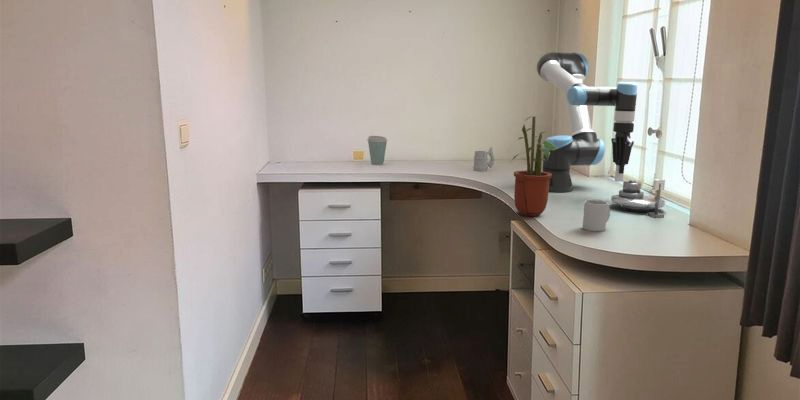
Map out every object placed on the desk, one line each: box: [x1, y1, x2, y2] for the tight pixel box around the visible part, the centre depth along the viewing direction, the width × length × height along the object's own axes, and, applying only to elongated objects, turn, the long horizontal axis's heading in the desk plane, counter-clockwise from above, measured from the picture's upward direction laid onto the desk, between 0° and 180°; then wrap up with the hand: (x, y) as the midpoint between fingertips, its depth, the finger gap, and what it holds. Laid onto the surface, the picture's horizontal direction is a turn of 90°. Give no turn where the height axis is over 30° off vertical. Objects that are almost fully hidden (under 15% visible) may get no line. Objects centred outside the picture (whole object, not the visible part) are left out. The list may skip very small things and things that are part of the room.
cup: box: [582, 199, 611, 232], centre depth 199 cm, size 7×10×9 cm
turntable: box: [610, 190, 666, 209], centre depth 232 cm, size 19×19×8 cm
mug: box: [472, 147, 495, 172], centre depth 319 cm, size 8×12×12 cm, turn 112°
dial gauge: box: [647, 178, 666, 219], centre depth 220 cm, size 4×6×13 cm
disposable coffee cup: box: [366, 135, 388, 166], centre depth 331 cm, size 11×11×15 cm
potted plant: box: [509, 115, 558, 217], centre depth 218 cm, size 17×16×35 cm
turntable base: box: [620, 205, 653, 213], centre depth 233 cm, size 11×11×2 cm
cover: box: [618, 180, 644, 199], centre depth 236 cm, size 9×9×6 cm
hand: (618, 181), depth 245 cm, fingers closed
